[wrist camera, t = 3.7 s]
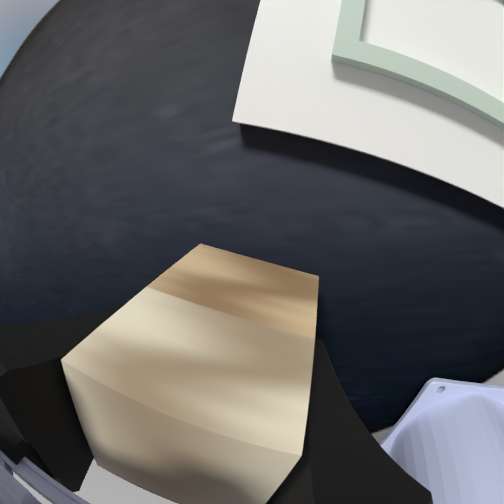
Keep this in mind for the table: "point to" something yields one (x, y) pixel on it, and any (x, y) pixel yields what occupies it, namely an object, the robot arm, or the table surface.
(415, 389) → the table surface
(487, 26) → the collar board
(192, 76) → the table surface
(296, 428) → the block stack
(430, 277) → the table surface
